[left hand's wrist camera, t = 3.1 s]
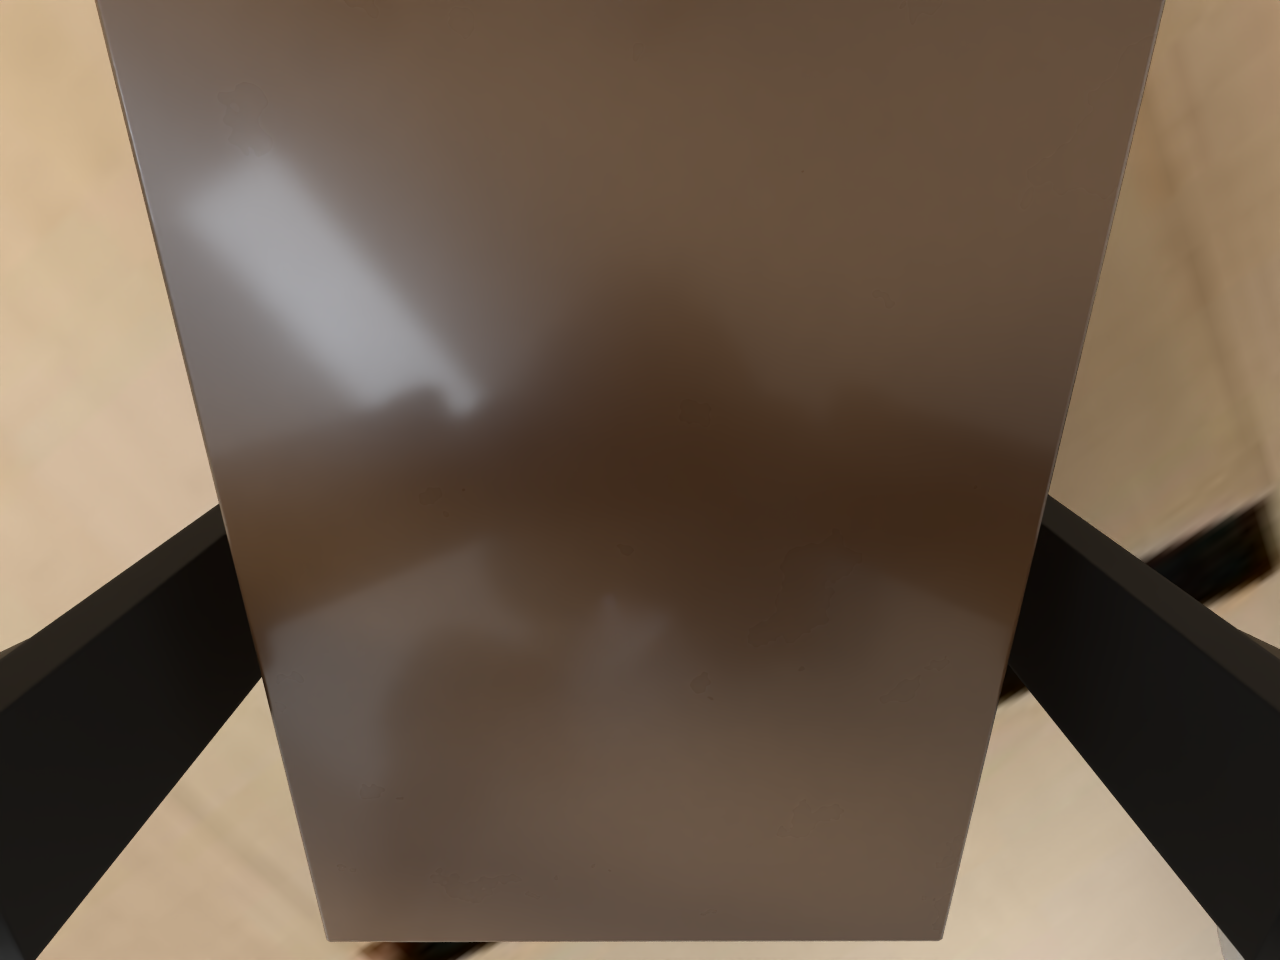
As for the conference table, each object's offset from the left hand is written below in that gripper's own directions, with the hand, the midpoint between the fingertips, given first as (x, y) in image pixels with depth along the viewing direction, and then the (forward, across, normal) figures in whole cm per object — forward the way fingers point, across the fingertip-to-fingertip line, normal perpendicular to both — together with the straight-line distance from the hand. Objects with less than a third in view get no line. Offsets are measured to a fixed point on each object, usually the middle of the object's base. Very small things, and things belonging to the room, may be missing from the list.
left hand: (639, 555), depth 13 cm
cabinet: (+5, 0, -4) cm, 7 cm away
